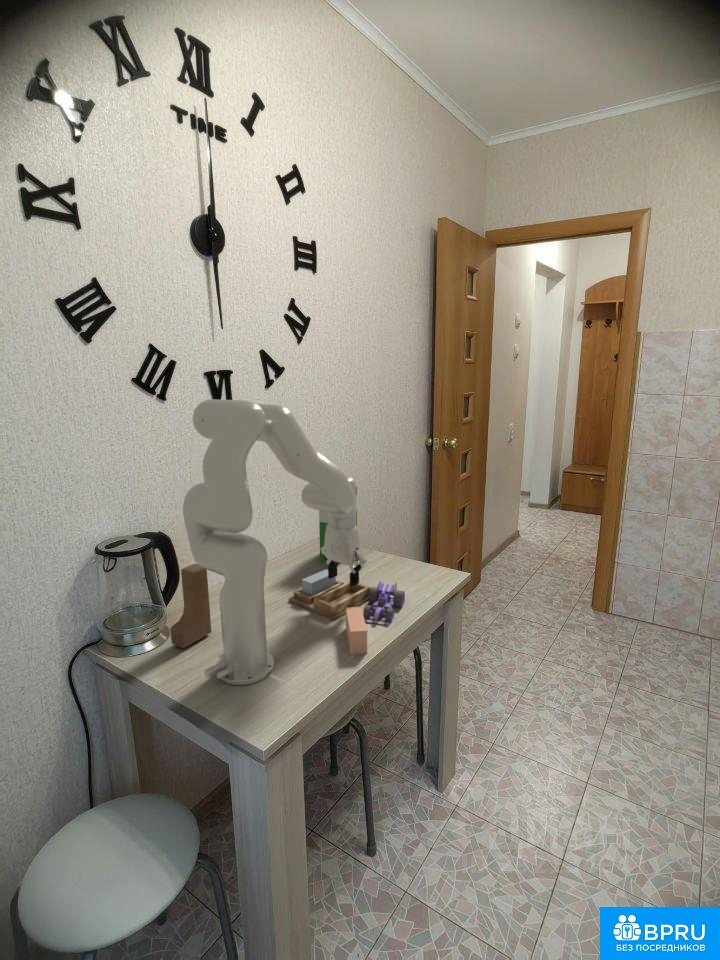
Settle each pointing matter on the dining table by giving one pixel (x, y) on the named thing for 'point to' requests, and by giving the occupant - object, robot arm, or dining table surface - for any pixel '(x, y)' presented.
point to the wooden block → (193, 608)
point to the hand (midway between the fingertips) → (343, 580)
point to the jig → (333, 599)
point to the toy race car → (383, 603)
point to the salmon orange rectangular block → (356, 630)
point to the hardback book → (322, 528)
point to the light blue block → (317, 583)
